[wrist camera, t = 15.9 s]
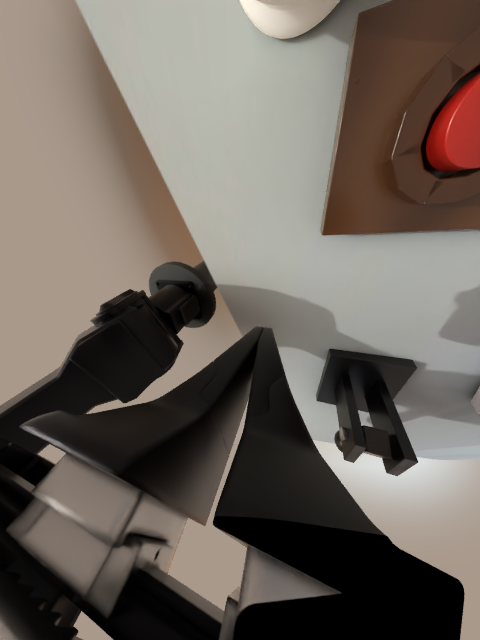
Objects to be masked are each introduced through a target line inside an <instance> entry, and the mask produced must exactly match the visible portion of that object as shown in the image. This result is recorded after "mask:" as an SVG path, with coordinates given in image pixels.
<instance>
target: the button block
mask: <svg viewBox="0 0 480 640" xmlns="http://www.w3.org/2000/svg"><path fill="white" fill-rule="evenodd" d="M479 73H480V0H393V1H390V2H387V3H385V4H382V5H379V6H377V7H374V8H372V9H369V10H366V11H364V12H361V13H359V15H358V18H357V21H356V25H355V28H354V32H353V35H352V38H351V42H350V47H349V53H348V59H347V65H346V72H345V78H344V84H343V91H342V97H341V103H340V110H339V116H338V122H337V129H336V135H335V141H334V147H333V154H332V160H331V166H330V173H329V179H328V185H327V192H326V198H325V204H324V211H323V217H322V223H321V230H320V231H321V234H322V235H343V234H365V233H388V232H410V231H432V230H455V229H477V228H480V168H474V169H467V170H460V171H453V172H445V171H440V170H437V169H435V168H434V167H433V166H432V165H431V164H430V163H429V161H428V159H427V155H426V143H427V138H428V135H429V132H430V130H431V127H432V125H433V123H434V121H435V119H436V117H437V116H438V114H439V113H440V111H441V110H442V108H443V107H444V106H445V104H446V103H447V102H448V101H449V100H450V98H451V97H452V96H453V95H454V94H455V93H456V92H457V91H458V90H459V89H460V88H461V87H462V86H463V85H464V84H466V83H467V82H468V81H469V80H471V79H472V78H473V77H475V76H476V75H477V74H479Z"/></svg>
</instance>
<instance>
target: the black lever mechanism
mask: <svg viewBox="0 0 480 640" xmlns="http://www.w3.org/2000/svg"><path fill="white" fill-rule="evenodd" d="M416 369H417V367H416V365H415V363H414V362H413V360H408V359H400V358H393V357H386V356H378V355H371V354H363V353H356V352H349V351H341V350H334V349H329V353H328V356H327V359H326V363H325V366H324V370H323V373H322V377H321V380H320V384H319V387H318V390H317V394H316V398H317V401H320V402H324V403H329V404H333V405H336V407H337V414H338V421H339V428H340V439H341V442H342V449H343V456H344V460H346V461H349V462H353V463H354V462H355V461H356V460H357V458H358V457H359V456H360V455H361V454H362V453H363V452H364V450H365V449H366V448H367V447H366V443H365V439H364V435H363V431H362V426H361V422H360V418H359V414H358V410H360V411H365V412H369V414H370V417H371V421H372V424H373V428H377V429H381V430H385V431H388V436H389V441H390V447H391V452H392V458H393V459H387V458H382V459H383V463H384V466H385V470H386V472H387V473H389V474H392V475H395V476H398V475H400V474H401V473H403V472H404V471H406V470H407V469H409V468H410V467H412V466H413V465H415V464H416V463H418V460H417V458H416V455H415V453H414V450H413V448H412V446H411V443H410V441H409V438H408V436H407V434H406V431H405V429H404V426H403V424H402V422H401V419H400V417H399V414H398V412H397V410H396V407H395V405H394V402H393V399H394V397H395V396H396V395H397V393H398V392H399V391H400V390H401V388H402V387H403V386H404V384H405V383H406V382H407V380H408V379H409V378H410V377H411V375H412V374H413V373H414V371H415V370H416Z"/></svg>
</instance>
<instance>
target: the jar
mask: <svg viewBox="0 0 480 640" xmlns="http://www.w3.org/2000/svg"><path fill="white" fill-rule="evenodd" d="M239 1H240V3H241V5H242V7H243V9H244V11H245V12H246V14H247V16H248V17H249V19H250V20H251V21H252V23H253V24H254V25H255V26H256V27H257V28H258V29H259V30H261V31H262V32H263V33H265V34H267V35H268V36H271V37H274V38H279V39H287V38H293V37H296V36H299V35H301V34H303V33H305V32H307V31H309V30H310V29H312V28H313V27H315V26H316V25H317V24H318V23H320V22H321V21H322V20H323V19H324V18H325V17H326V16H327V15H328V14H329V13H330V12H331V11H332V10H333V9H334V7H335V6H336V5H337V4H338V3H339V1H340V0H239Z"/></svg>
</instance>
